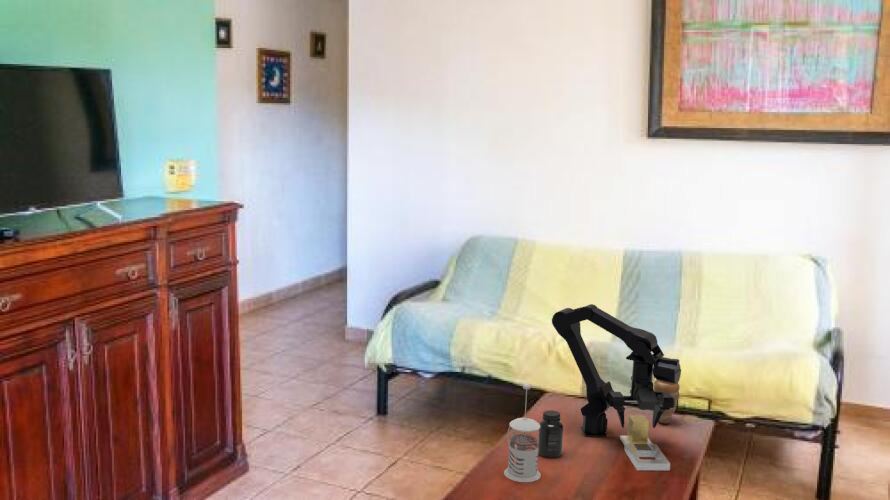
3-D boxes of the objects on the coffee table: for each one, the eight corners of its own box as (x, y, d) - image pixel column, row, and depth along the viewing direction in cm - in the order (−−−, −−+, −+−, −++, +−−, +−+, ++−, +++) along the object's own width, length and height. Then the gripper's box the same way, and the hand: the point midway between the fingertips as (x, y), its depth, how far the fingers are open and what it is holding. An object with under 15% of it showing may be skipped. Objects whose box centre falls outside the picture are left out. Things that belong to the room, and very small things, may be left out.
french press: (516, 485, 214) (521, 392, 209) (493, 466, 224) (497, 378, 219) (548, 478, 218) (553, 387, 213) (524, 460, 228) (528, 373, 224)
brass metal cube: (631, 444, 239) (633, 421, 238) (627, 437, 244) (628, 415, 242) (647, 444, 239) (648, 421, 238) (642, 438, 244) (644, 415, 243)
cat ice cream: (659, 415, 264) (664, 361, 261) (682, 422, 259) (686, 367, 255) (645, 422, 258) (649, 367, 254) (667, 430, 252) (672, 373, 249)
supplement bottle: (564, 451, 235) (567, 411, 233) (557, 460, 229) (560, 419, 227) (541, 446, 238) (544, 406, 235) (534, 455, 232) (536, 414, 229)
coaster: (627, 449, 237) (627, 446, 237) (619, 438, 245) (620, 435, 245) (654, 449, 238) (654, 447, 238) (646, 438, 246) (646, 435, 246)
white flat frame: (637, 470, 224) (637, 463, 224) (624, 450, 237) (624, 443, 237) (669, 470, 225) (670, 463, 224) (655, 450, 237) (655, 443, 237)
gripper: (617, 385, 229) (613, 438, 232) (683, 386, 231) (678, 439, 233) (607, 372, 240) (603, 423, 243) (670, 373, 241) (666, 423, 244)
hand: (638, 427), depth 241 cm, fingers open, 9 cm apart
